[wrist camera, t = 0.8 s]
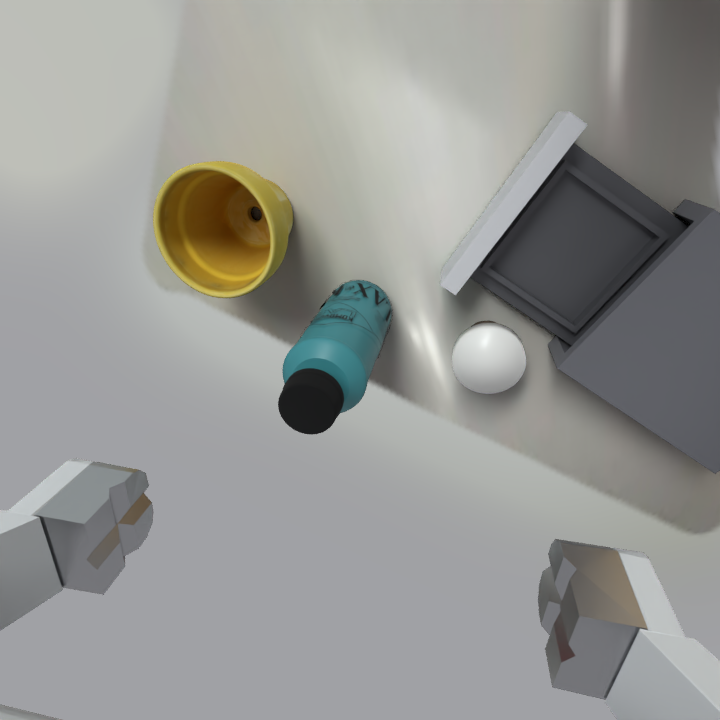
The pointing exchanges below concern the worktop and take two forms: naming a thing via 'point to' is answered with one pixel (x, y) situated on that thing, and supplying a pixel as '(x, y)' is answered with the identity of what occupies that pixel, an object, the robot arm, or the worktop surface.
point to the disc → (488, 358)
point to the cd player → (663, 343)
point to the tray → (562, 235)
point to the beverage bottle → (334, 357)
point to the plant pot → (221, 227)
